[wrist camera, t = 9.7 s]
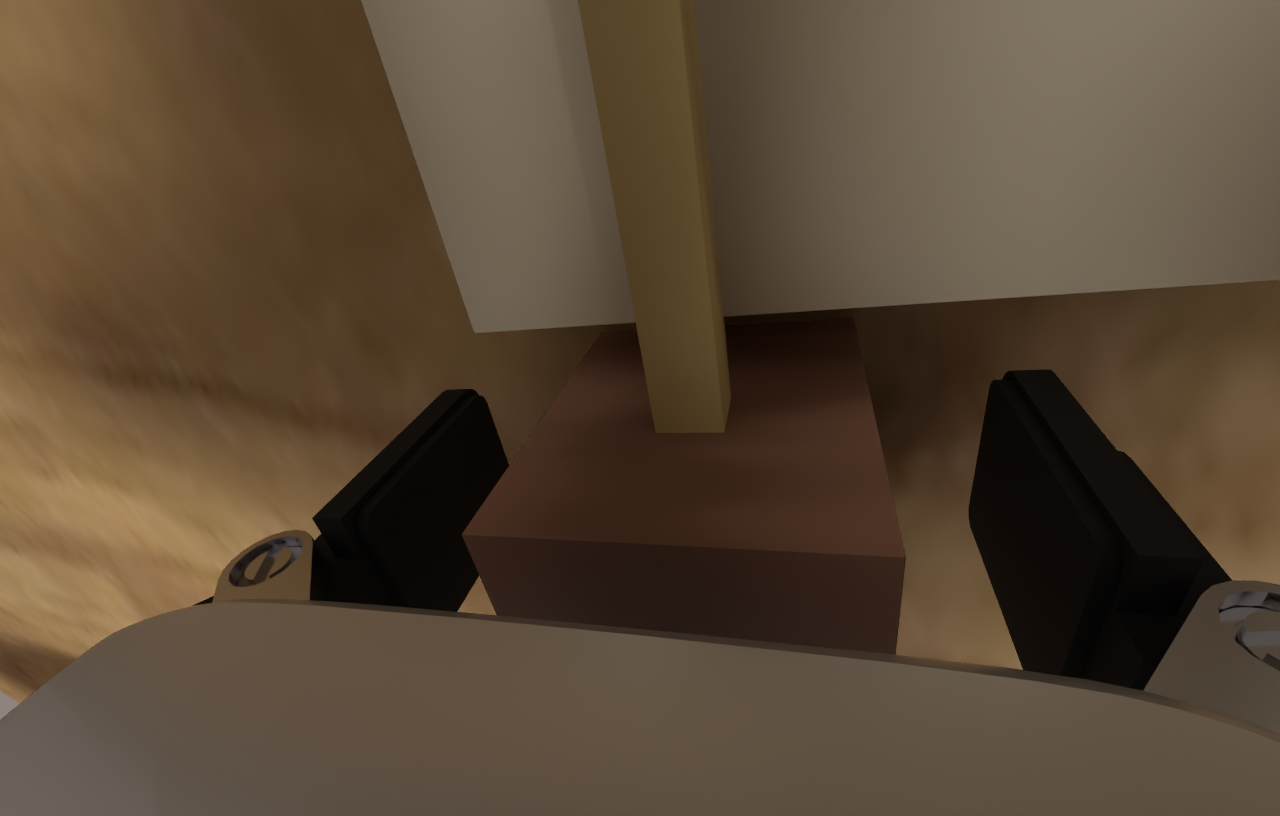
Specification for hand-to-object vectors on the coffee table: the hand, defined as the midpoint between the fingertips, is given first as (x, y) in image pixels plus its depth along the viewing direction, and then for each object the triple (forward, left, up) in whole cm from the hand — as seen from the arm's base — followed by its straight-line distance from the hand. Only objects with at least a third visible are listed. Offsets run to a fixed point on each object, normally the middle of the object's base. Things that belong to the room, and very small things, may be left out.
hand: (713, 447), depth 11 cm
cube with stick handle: (0, -4, -2) cm, 4 cm away
